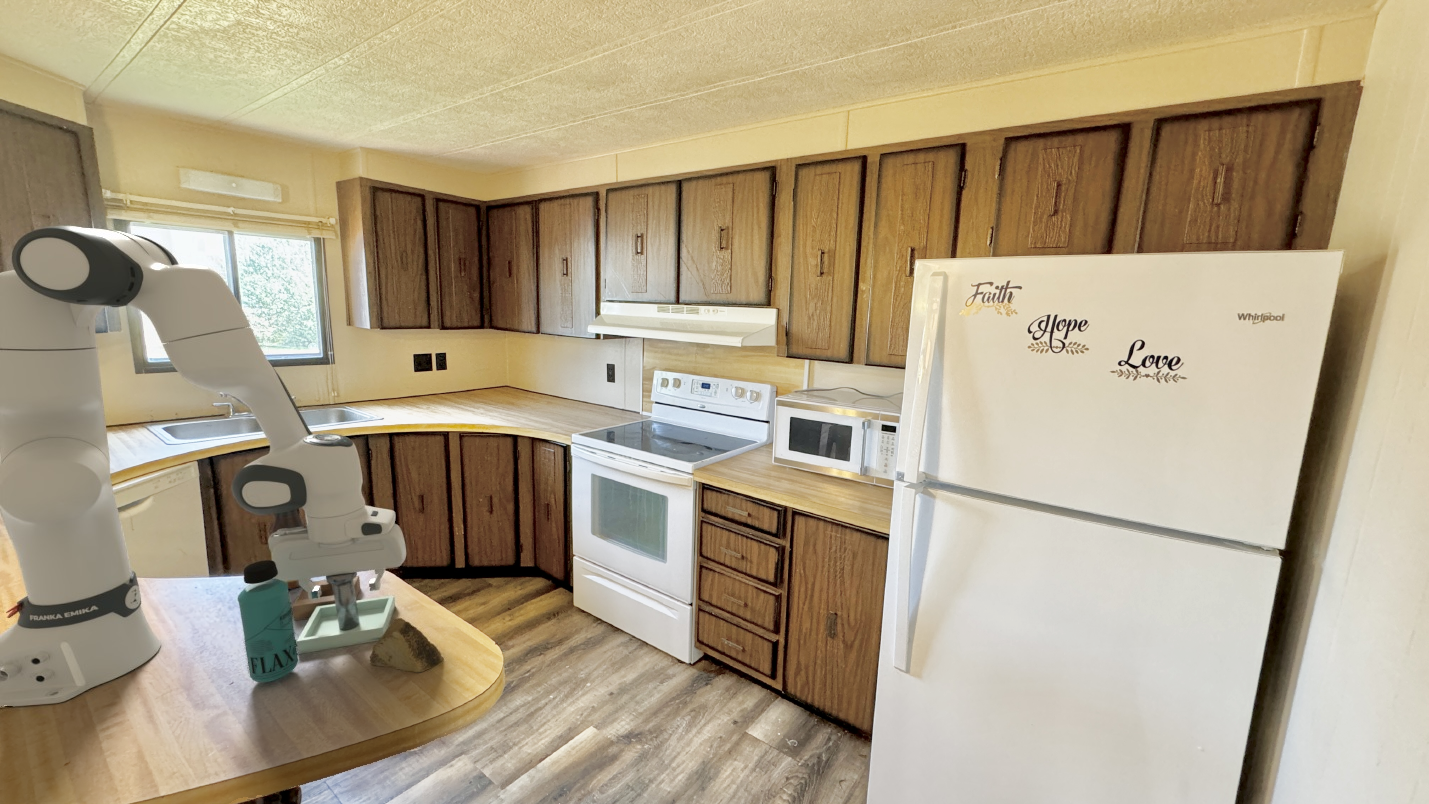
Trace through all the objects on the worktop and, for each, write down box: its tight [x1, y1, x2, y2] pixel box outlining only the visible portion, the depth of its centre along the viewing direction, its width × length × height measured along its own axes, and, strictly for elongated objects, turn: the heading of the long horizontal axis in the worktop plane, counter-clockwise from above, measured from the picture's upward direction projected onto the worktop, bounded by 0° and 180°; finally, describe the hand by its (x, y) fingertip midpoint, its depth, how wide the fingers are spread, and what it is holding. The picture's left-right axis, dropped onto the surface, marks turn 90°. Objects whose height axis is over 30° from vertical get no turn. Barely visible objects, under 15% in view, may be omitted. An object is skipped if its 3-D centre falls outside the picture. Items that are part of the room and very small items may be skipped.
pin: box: [325, 572, 360, 631], centre depth 101 cm, size 5×5×11 cm
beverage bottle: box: [237, 559, 300, 683], centre depth 88 cm, size 6×7×20 cm
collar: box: [291, 575, 361, 621], centre depth 110 cm, size 9×9×3 cm
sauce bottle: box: [268, 509, 306, 590], centre depth 115 cm, size 7×6×20 cm
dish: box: [296, 595, 396, 655], centre depth 102 cm, size 13×11×2 cm
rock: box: [369, 617, 444, 673], centre depth 94 cm, size 11×9×10 cm
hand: (345, 593), depth 101 cm, fingers open, 8 cm apart
